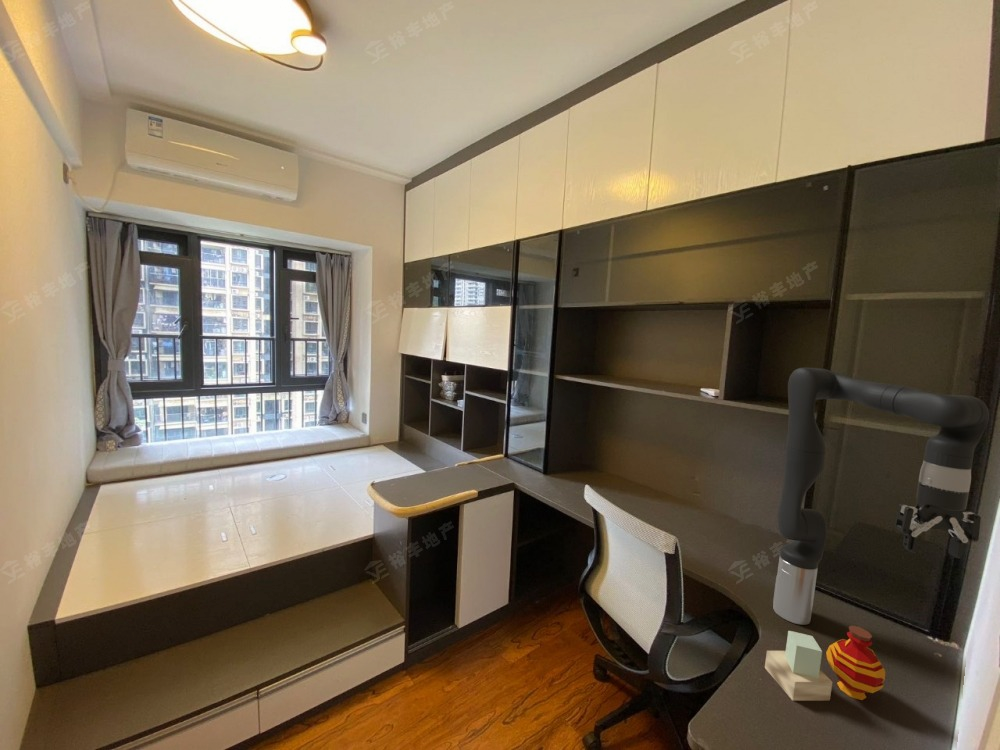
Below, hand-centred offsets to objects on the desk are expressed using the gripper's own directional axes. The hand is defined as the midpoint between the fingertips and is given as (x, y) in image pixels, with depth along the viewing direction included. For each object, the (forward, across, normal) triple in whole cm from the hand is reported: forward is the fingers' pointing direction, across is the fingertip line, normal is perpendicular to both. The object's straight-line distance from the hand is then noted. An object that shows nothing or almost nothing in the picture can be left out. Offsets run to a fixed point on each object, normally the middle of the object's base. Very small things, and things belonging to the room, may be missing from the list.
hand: (931, 553), depth 89 cm
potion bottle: (+36, +12, 0) cm, 38 cm away
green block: (+31, +24, +2) cm, 40 cm away
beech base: (+36, +24, +2) cm, 44 cm away
